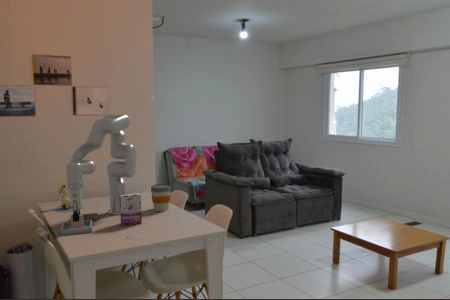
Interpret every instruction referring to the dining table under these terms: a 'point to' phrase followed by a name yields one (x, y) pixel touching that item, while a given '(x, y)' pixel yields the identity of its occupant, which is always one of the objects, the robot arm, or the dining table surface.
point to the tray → (67, 228)
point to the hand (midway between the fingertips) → (76, 219)
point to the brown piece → (91, 216)
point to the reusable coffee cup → (161, 196)
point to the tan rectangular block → (77, 222)
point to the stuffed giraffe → (63, 201)
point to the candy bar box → (130, 209)
